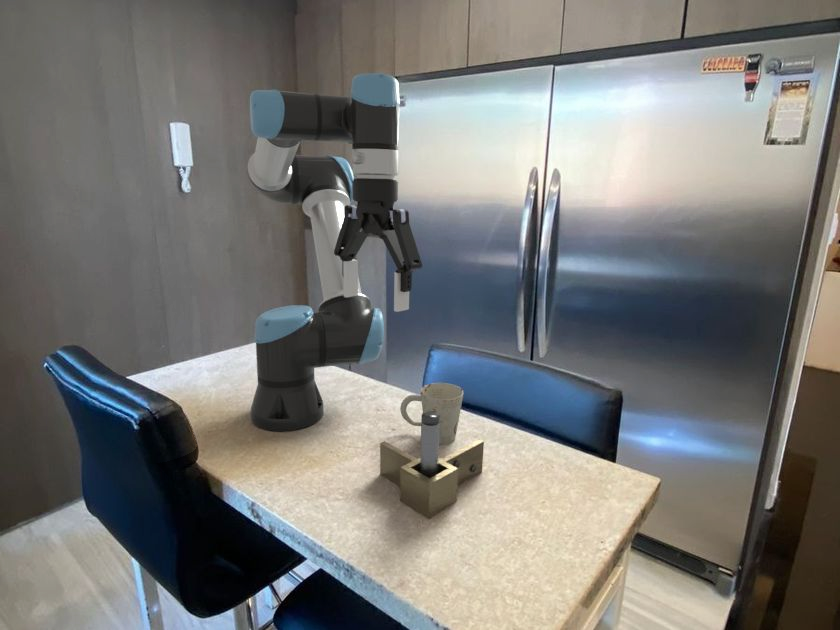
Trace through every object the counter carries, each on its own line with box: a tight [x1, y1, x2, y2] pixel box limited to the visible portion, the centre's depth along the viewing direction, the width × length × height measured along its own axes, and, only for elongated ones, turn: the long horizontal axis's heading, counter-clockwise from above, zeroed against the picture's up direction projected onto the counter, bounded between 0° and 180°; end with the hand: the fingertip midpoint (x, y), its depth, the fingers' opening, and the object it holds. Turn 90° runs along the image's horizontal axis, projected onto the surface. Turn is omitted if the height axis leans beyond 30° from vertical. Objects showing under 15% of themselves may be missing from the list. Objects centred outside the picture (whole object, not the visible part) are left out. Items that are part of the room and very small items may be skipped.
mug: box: [399, 382, 464, 445], centre depth 103 cm, size 8×13×10 cm, turn 78°
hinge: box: [379, 439, 485, 520], centre depth 88 cm, size 14×16×6 cm
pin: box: [420, 412, 440, 478], centre depth 81 cm, size 3×3×15 cm
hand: (374, 303), depth 91 cm, fingers open, 13 cm apart
